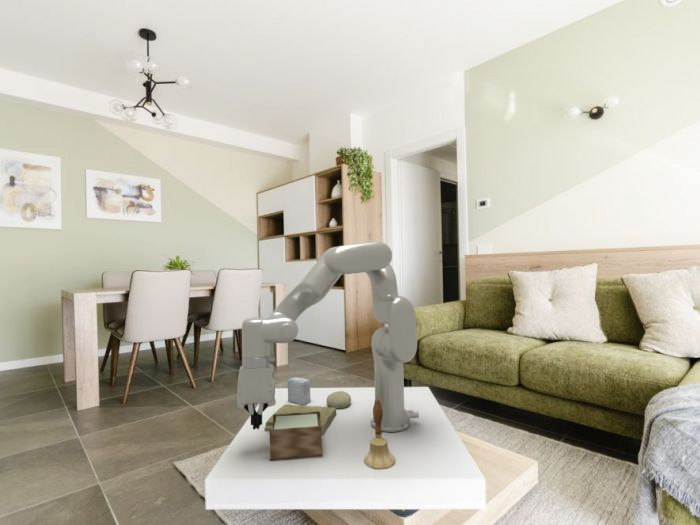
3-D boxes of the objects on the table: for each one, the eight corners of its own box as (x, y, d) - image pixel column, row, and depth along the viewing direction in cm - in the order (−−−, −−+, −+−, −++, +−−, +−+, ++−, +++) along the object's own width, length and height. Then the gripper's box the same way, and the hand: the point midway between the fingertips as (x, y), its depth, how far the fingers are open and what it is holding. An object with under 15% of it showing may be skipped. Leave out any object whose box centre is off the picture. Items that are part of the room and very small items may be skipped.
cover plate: (317, 419, 110) (316, 413, 110) (318, 433, 101) (317, 426, 101) (276, 422, 108) (276, 416, 108) (273, 436, 99) (273, 430, 99)
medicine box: (310, 401, 142) (310, 379, 142) (303, 405, 138) (303, 382, 138) (295, 398, 146) (294, 376, 146) (287, 402, 142) (287, 379, 142)
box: (320, 438, 111) (320, 411, 111) (322, 456, 100) (321, 426, 100) (273, 442, 109) (273, 414, 109) (270, 461, 98) (269, 430, 98)
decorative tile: (283, 412, 134) (283, 402, 134) (336, 415, 129) (336, 405, 129) (260, 434, 115) (260, 423, 115) (322, 439, 111) (321, 427, 111)
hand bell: (362, 468, 94) (361, 405, 94) (365, 452, 102) (364, 394, 102) (395, 470, 92) (393, 406, 93) (395, 453, 101) (394, 395, 101)
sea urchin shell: (321, 398, 140) (334, 381, 142) (334, 410, 142) (348, 394, 144) (329, 406, 132) (343, 388, 134) (343, 419, 134) (357, 401, 136)
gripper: (283, 357, 108) (284, 420, 108) (231, 359, 106) (231, 423, 106) (281, 364, 101) (282, 431, 100) (225, 366, 99) (226, 435, 99)
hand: (256, 427), depth 103 cm, fingers closed
